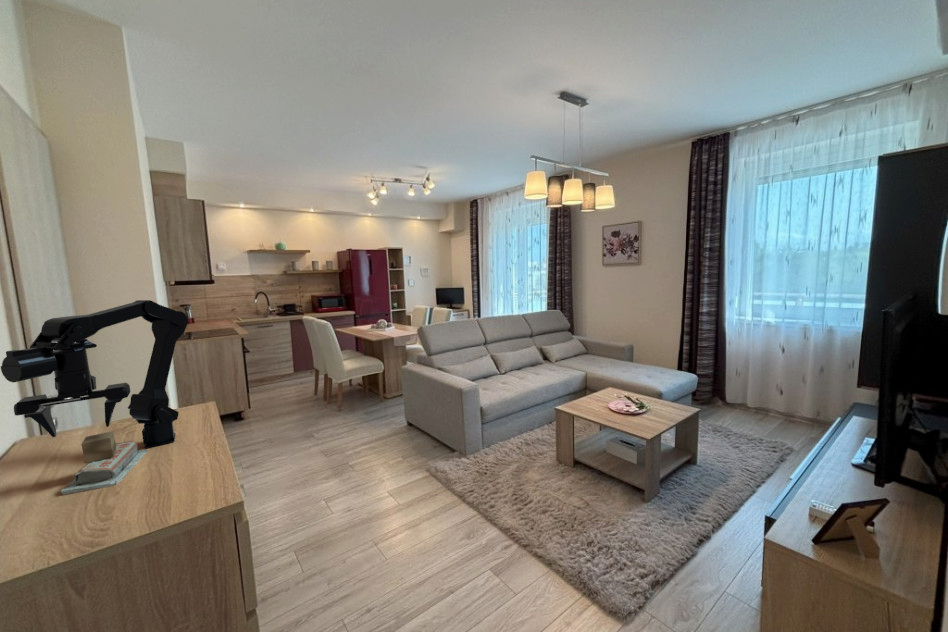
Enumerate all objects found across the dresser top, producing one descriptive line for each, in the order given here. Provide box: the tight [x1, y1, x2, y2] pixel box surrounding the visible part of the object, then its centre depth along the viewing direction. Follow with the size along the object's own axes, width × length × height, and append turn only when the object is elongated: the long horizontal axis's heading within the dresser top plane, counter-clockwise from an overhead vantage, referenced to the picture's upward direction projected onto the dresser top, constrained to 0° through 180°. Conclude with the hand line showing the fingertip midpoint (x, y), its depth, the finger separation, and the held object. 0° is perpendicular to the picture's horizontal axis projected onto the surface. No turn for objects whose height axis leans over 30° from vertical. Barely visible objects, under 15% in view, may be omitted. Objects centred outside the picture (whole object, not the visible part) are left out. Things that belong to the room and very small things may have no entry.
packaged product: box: [60, 440, 148, 496], centre depth 95 cm, size 18×5×10 cm
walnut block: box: [80, 430, 117, 464], centre depth 94 cm, size 5×5×5 cm
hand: (82, 431), depth 92 cm, fingers open, 9 cm apart
